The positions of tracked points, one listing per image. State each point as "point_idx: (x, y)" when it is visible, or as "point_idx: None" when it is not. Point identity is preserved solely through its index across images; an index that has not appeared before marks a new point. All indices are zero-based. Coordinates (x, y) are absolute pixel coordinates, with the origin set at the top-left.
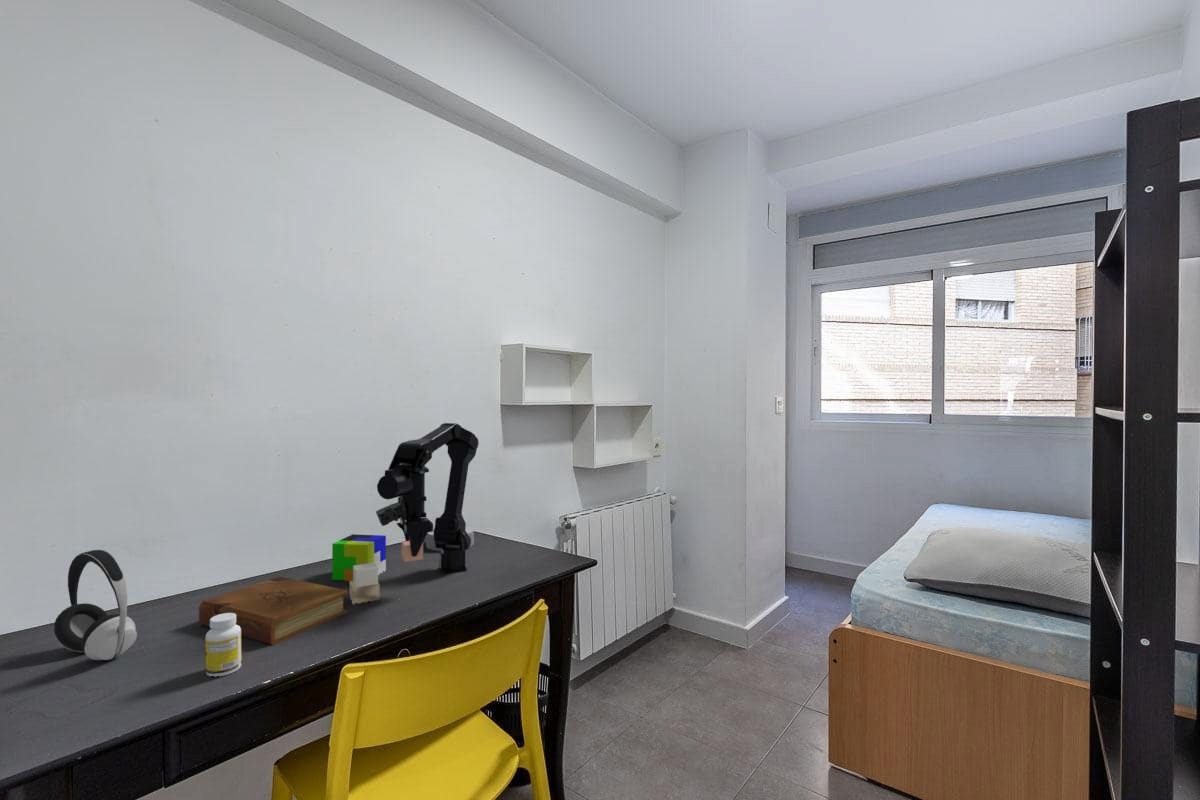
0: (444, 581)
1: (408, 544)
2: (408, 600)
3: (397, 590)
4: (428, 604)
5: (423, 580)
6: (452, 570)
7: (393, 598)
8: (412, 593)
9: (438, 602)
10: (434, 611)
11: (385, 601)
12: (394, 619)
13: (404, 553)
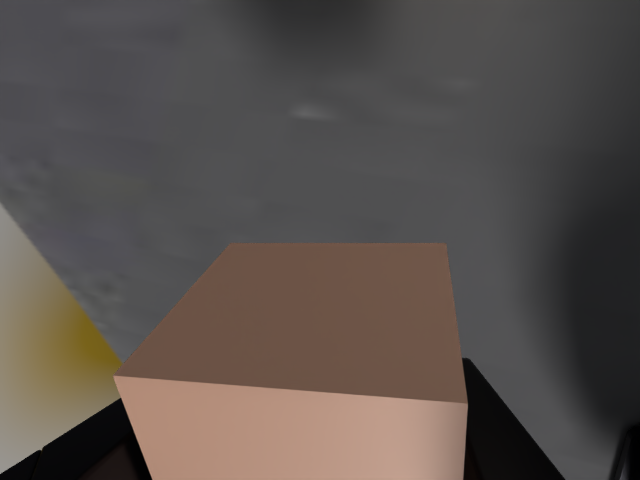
0: (492, 385)
1: (181, 435)
2: (264, 160)
3: (482, 119)
4: (177, 241)
5: (591, 301)
6: (630, 468)
7: (332, 77)
8: (373, 199)
9: (191, 285)
10: (89, 245)
11: (295, 18)
12: (14, 53)
13: (212, 292)
